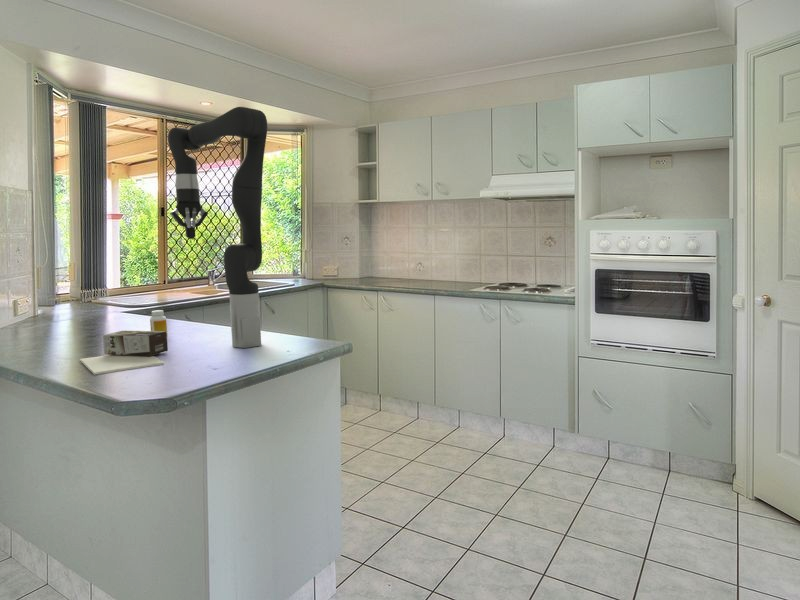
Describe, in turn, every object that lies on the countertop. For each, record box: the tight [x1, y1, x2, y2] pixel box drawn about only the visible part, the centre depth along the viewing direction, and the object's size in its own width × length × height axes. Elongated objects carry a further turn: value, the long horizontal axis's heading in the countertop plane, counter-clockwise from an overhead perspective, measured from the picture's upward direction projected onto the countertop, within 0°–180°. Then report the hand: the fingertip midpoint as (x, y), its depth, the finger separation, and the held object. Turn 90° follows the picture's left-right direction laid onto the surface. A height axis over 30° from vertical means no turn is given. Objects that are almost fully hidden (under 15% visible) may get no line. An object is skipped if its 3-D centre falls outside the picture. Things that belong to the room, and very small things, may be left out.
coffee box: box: [102, 330, 169, 356], centre depth 182 cm, size 9×6×16 cm
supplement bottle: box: [149, 309, 168, 335], centre depth 211 cm, size 5×5×10 cm
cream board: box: [79, 355, 165, 376], centre depth 172 cm, size 22×18×1 cm
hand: (190, 238), depth 204 cm, fingers closed
